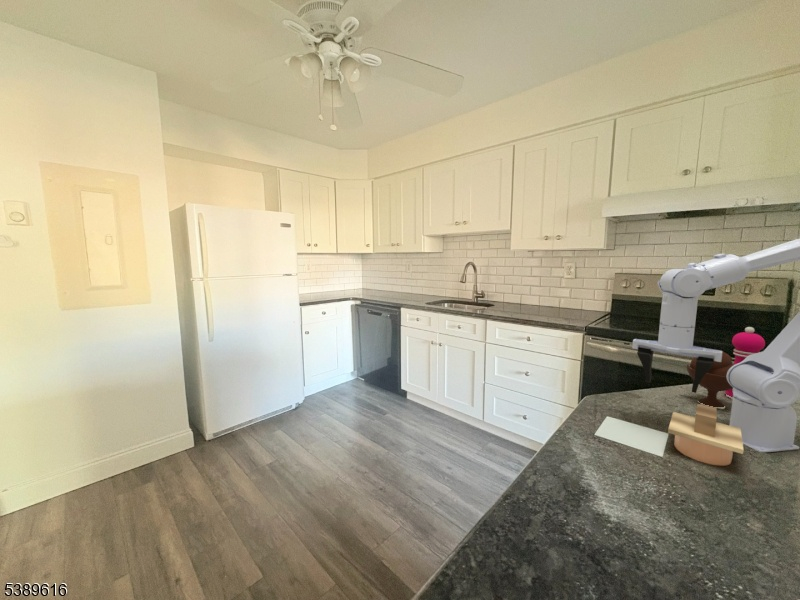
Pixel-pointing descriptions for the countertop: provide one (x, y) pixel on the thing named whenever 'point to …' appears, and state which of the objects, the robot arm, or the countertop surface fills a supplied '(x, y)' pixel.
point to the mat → (633, 435)
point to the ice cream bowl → (713, 379)
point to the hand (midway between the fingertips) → (670, 386)
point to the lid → (706, 429)
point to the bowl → (703, 451)
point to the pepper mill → (746, 347)
